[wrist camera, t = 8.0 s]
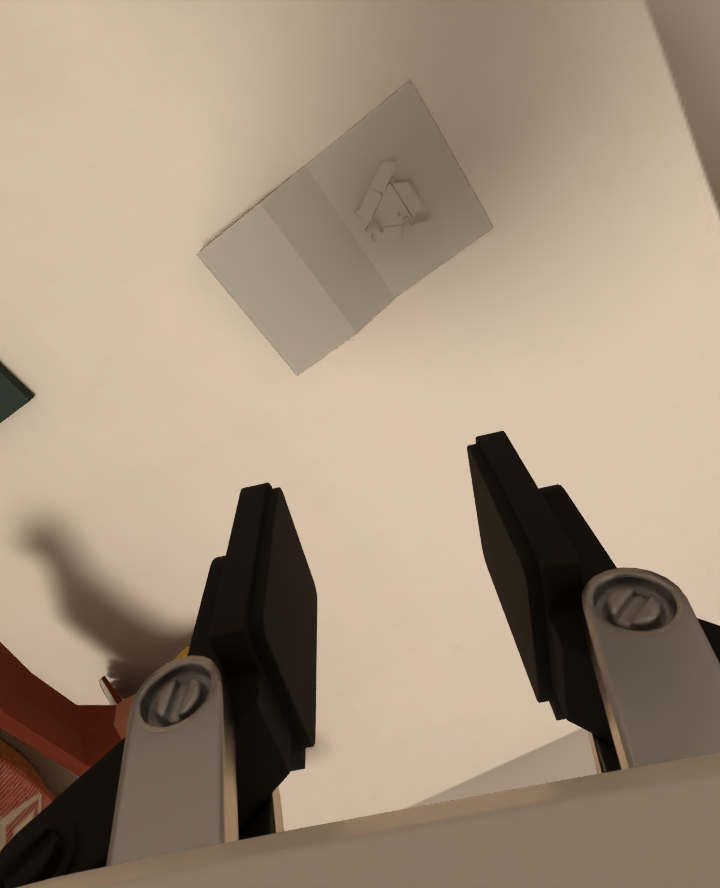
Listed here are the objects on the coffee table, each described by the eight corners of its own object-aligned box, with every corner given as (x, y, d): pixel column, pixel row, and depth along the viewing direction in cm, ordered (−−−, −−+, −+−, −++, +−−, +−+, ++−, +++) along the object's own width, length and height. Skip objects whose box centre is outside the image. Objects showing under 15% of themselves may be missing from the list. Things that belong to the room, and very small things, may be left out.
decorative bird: (441, 739, 41) (391, 1032, 30) (261, 741, 51) (174, 960, 40) (157, 451, 29) (-99, 764, 18) (-5, 527, 39) (-232, 758, 28)
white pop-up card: (201, 249, 28) (191, 259, 25) (410, 79, 25) (418, 73, 23) (298, 367, 31) (296, 385, 29) (493, 227, 28) (508, 235, 26)
